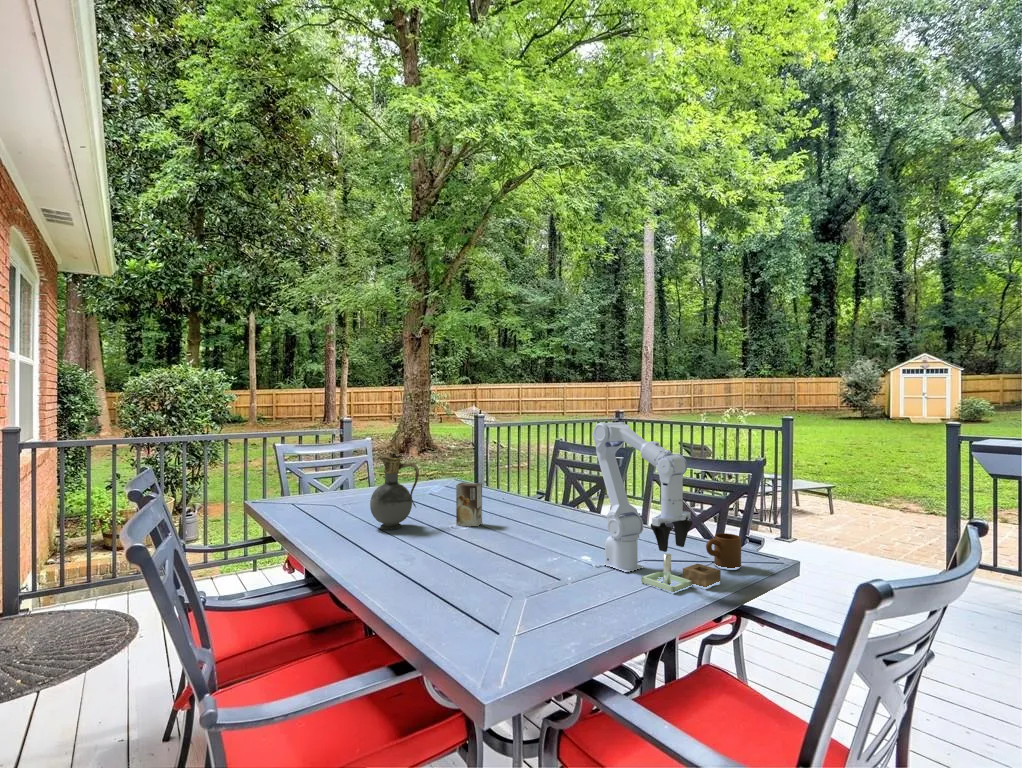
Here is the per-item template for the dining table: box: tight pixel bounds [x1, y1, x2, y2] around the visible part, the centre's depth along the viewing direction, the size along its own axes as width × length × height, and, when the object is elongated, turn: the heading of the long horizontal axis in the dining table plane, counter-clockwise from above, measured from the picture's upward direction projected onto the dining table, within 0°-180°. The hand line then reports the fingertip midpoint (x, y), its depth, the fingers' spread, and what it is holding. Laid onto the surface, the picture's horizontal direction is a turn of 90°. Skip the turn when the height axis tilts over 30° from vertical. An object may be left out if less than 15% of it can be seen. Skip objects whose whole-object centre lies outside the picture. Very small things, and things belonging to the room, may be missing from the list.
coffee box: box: [455, 482, 483, 527], centre depth 223 cm, size 9×6×16 cm
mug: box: [705, 532, 742, 568], centre depth 170 cm, size 12×8×9 cm, turn 114°
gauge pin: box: [662, 553, 672, 585], centre depth 154 cm, size 2×2×8 cm
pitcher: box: [369, 448, 420, 530], centre depth 218 cm, size 11×19×30 cm, turn 121°
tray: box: [640, 570, 692, 592], centre depth 155 cm, size 10×8×2 cm
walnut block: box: [682, 563, 722, 587], centre depth 156 cm, size 7×7×4 cm
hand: (671, 548), depth 155 cm, fingers open, 7 cm apart
